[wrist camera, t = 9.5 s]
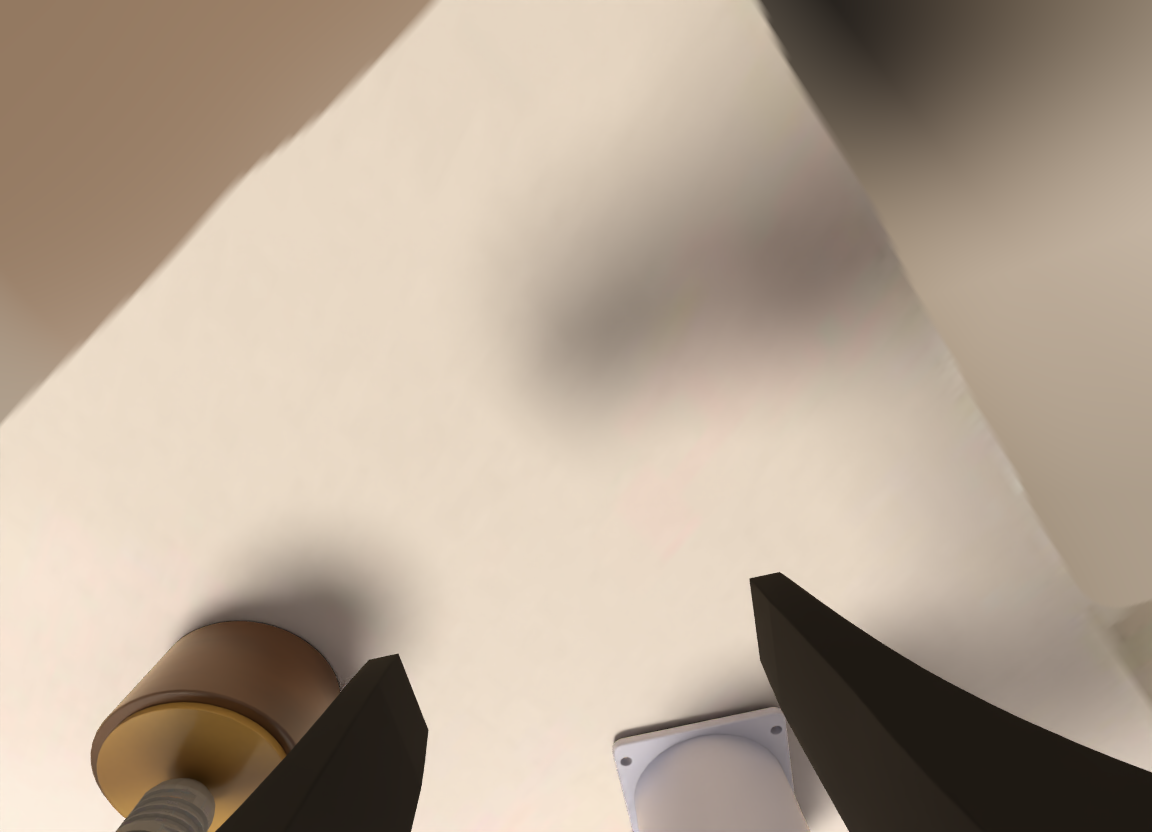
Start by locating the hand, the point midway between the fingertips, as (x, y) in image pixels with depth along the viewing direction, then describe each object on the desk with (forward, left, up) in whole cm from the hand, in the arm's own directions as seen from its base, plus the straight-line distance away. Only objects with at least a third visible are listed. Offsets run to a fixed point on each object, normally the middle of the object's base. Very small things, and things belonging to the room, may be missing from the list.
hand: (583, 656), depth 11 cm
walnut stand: (-8, +16, -10) cm, 20 cm away
